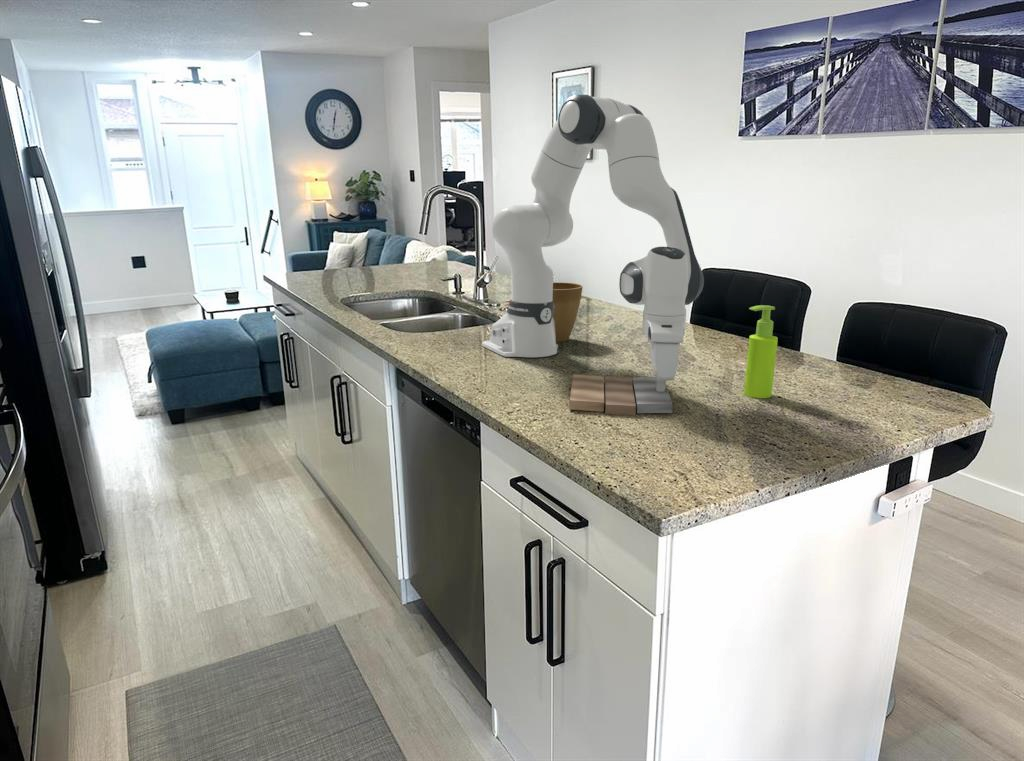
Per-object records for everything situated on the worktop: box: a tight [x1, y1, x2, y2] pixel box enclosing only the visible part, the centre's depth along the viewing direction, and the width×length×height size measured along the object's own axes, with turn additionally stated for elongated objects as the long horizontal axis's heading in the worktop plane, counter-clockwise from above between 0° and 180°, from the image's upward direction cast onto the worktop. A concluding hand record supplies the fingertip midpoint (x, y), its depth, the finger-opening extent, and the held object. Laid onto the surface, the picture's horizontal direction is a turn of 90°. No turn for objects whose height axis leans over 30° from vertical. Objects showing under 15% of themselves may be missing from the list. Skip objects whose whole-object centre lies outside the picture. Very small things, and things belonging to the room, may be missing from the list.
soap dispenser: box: [743, 304, 779, 399], centre depth 159 cm, size 6×7×20 cm
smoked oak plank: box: [568, 374, 605, 413], centre depth 158 cm, size 20×7×2 cm, turn 174°
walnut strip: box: [604, 375, 637, 416], centre depth 157 cm, size 22×6×2 cm, turn 174°
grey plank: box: [632, 376, 673, 414], centre depth 156 cm, size 20×7×2 cm, turn 173°
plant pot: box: [553, 281, 583, 343], centre depth 211 cm, size 15×15×16 cm
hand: (659, 389), depth 156 cm, fingers closed, pressing on grey plank
